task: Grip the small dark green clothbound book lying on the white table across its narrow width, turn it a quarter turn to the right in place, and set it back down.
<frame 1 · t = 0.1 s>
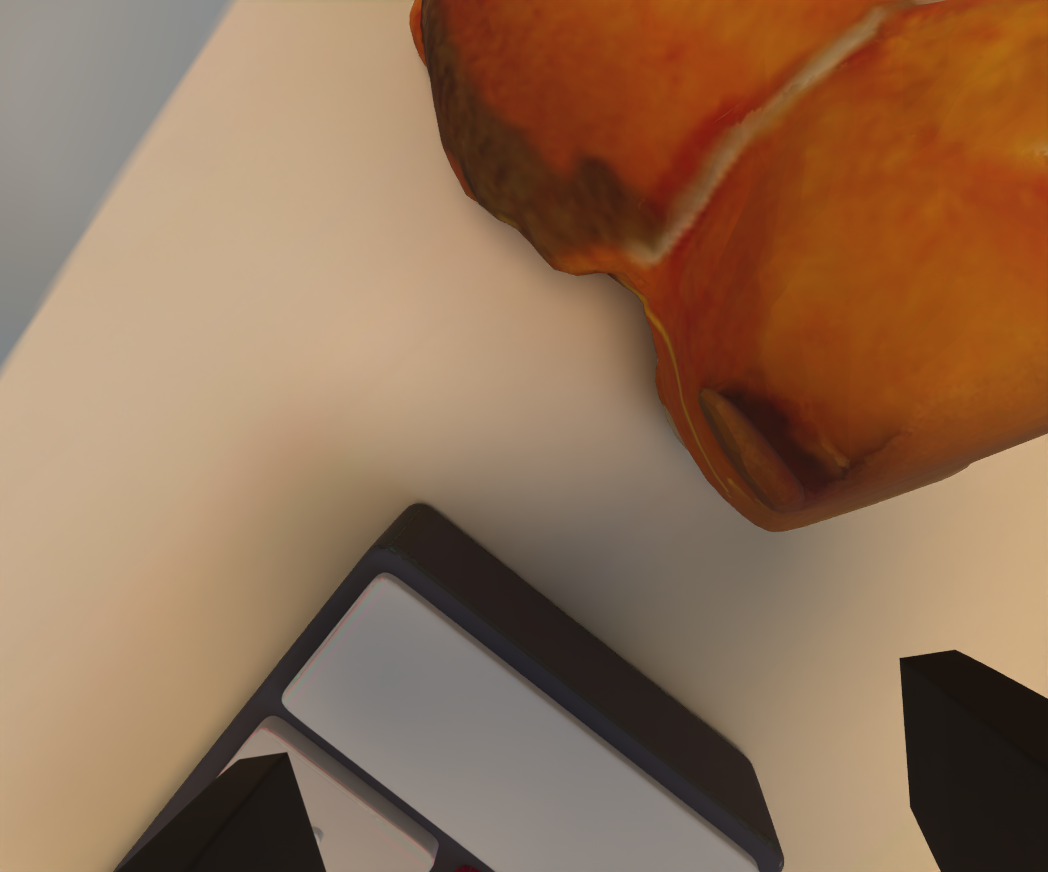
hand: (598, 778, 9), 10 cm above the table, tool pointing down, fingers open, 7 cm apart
toy 2: (870, 511, 13), point 6 cm above the table
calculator: (409, 837, 21), on the table
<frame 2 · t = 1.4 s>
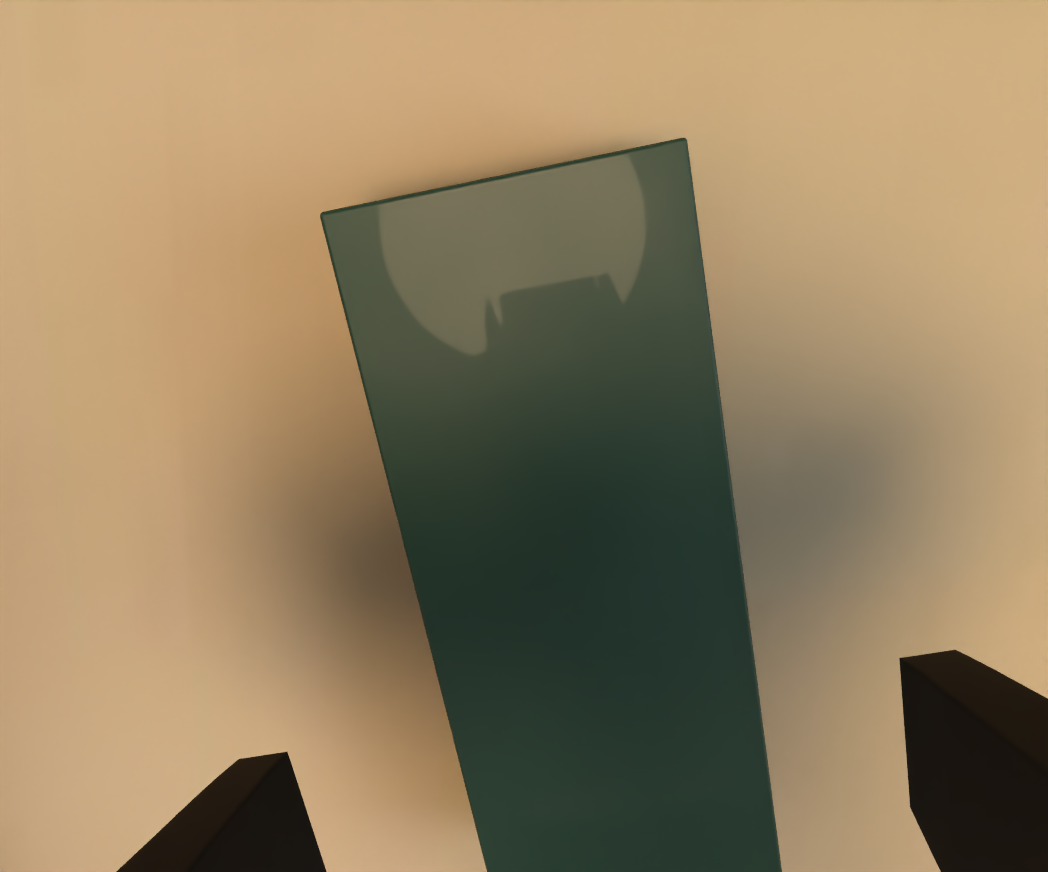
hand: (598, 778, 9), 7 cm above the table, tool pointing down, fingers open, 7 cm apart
book: (629, 817, 18), on the table
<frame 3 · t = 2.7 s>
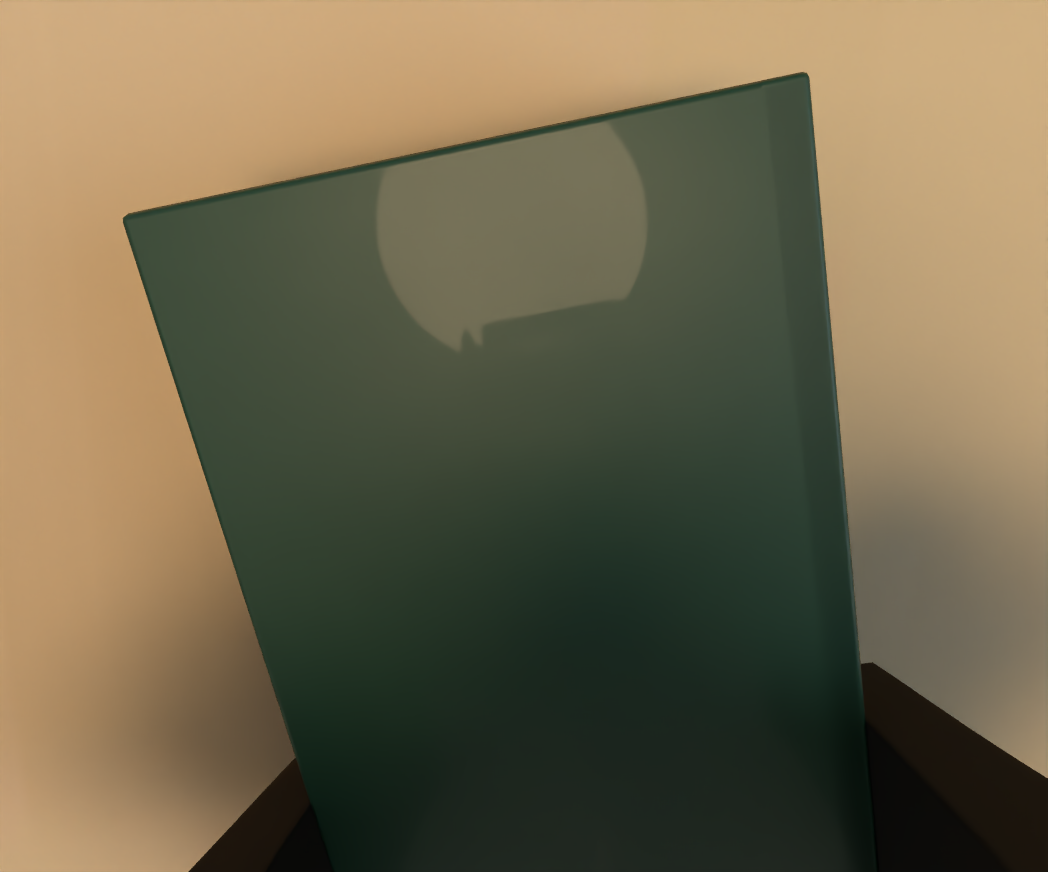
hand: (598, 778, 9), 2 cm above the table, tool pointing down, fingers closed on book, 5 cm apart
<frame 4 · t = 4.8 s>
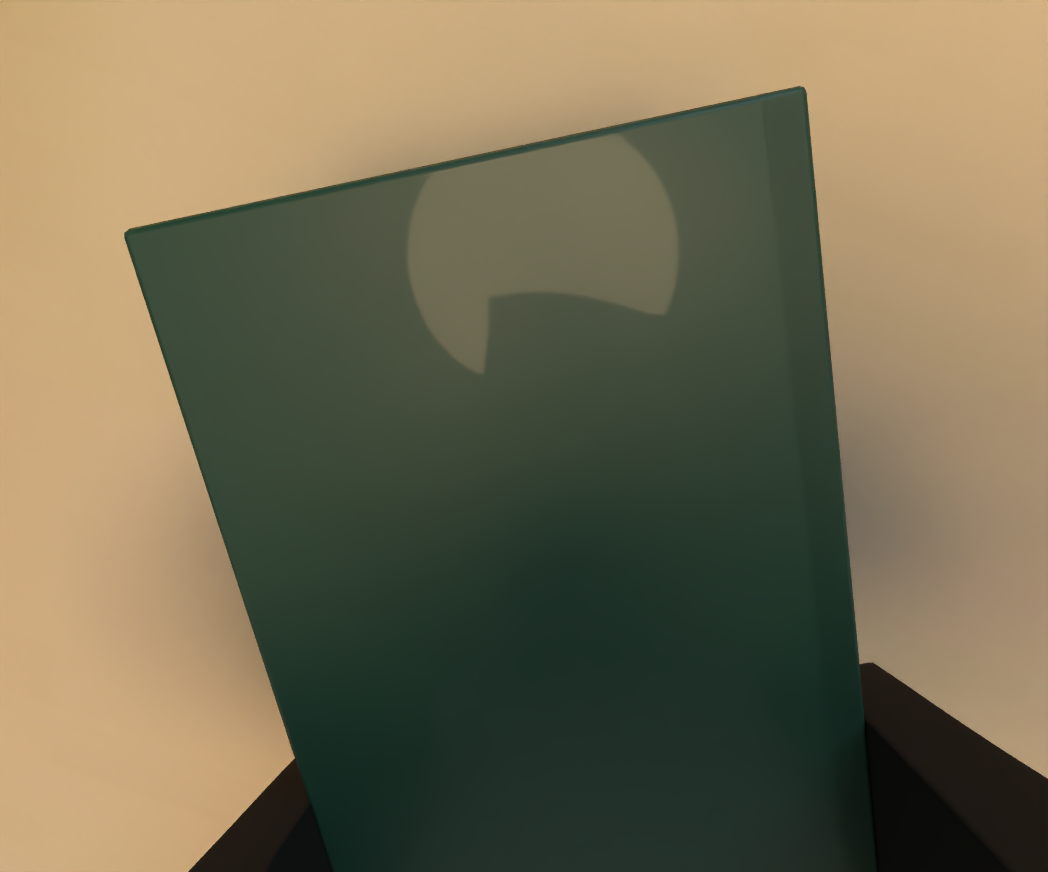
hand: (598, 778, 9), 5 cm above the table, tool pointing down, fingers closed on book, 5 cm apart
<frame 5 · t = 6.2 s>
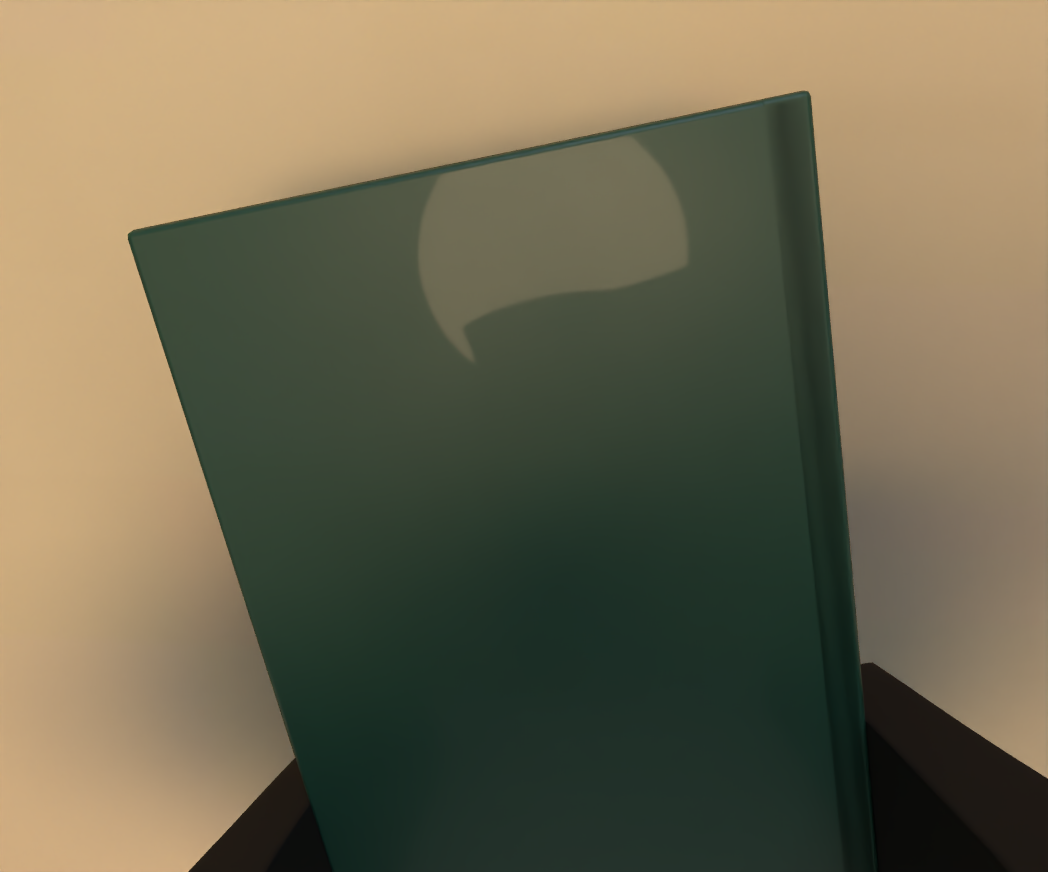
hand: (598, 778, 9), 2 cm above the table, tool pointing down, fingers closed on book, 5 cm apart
when the fingers open (2 cm above the table, at t = 6.9 s): book stays where it is, on the table.
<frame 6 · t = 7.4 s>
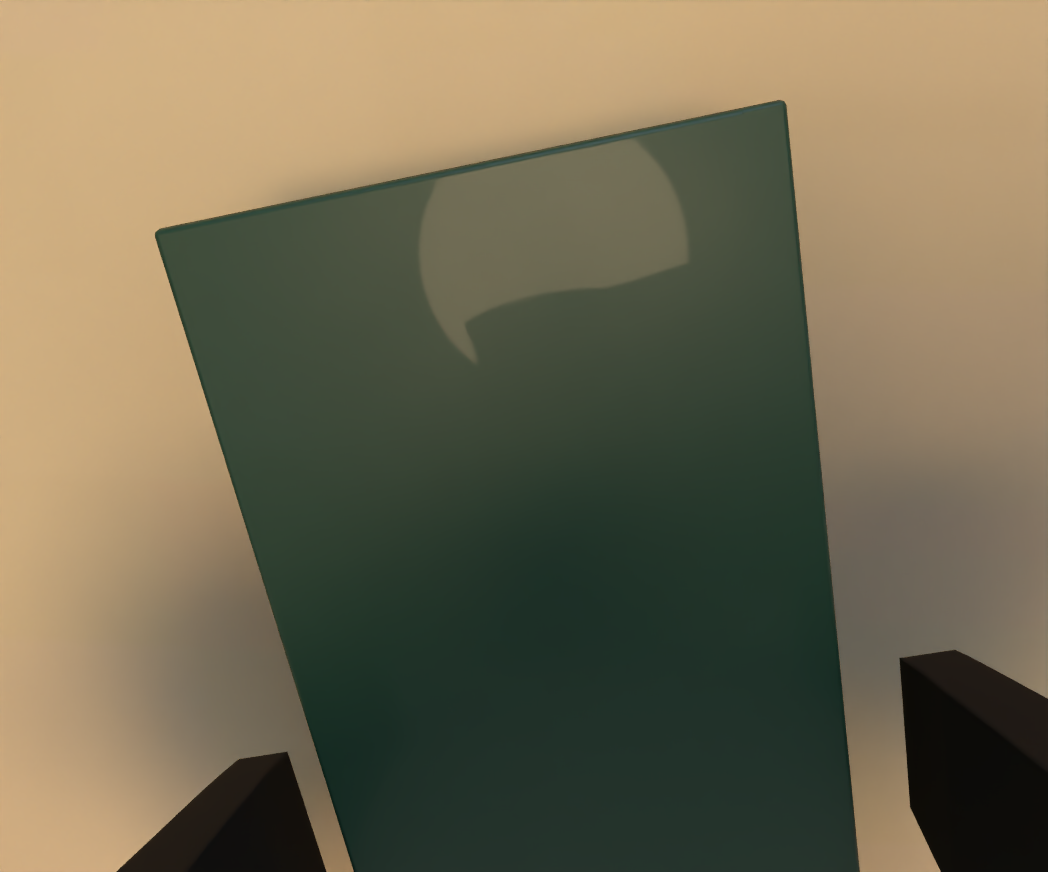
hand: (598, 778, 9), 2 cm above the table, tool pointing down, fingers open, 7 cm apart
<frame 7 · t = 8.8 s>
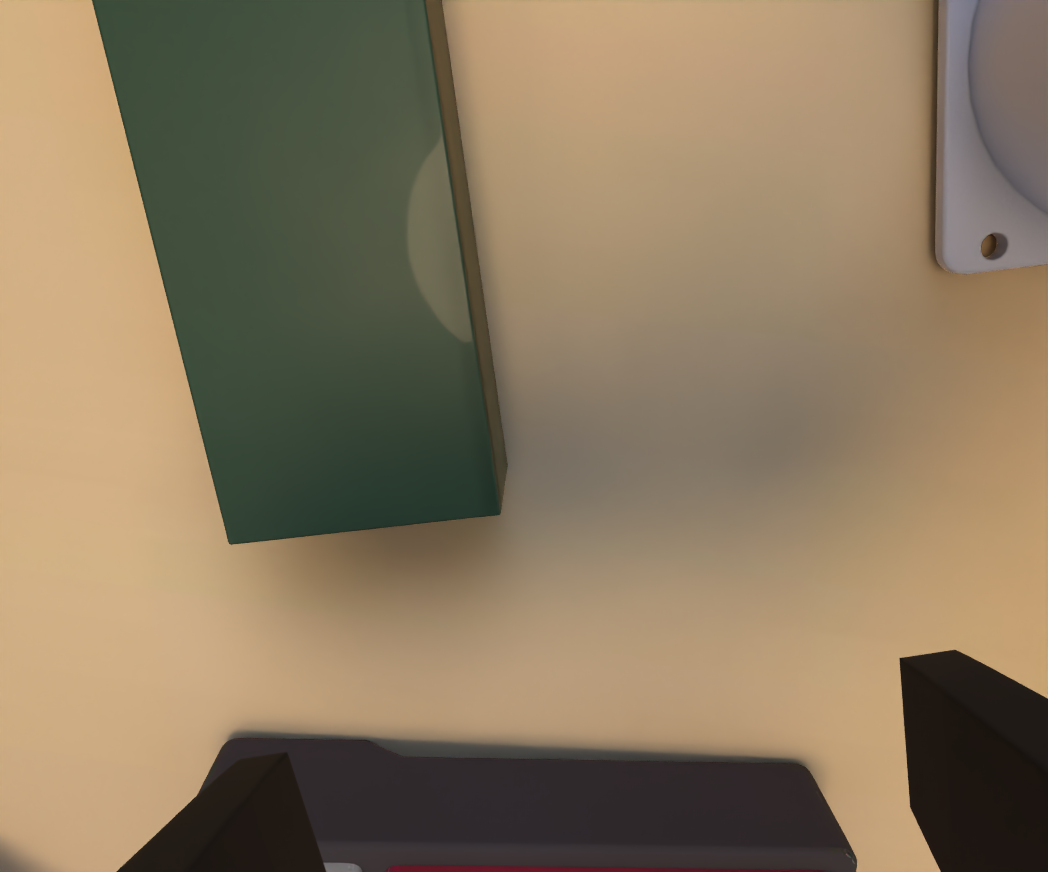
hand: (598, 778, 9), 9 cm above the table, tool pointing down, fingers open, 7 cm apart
book: (391, 479, 18), on the table
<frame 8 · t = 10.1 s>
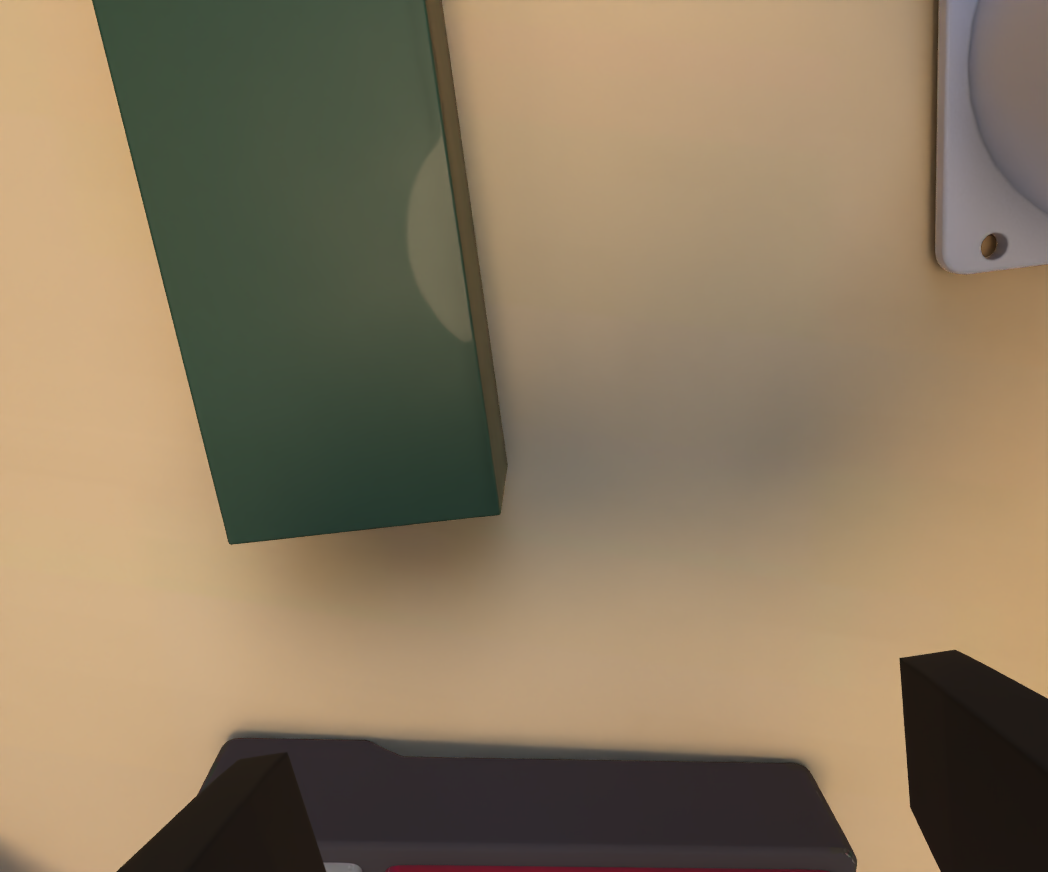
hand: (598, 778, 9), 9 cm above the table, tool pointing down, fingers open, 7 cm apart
book: (391, 479, 18), on the table
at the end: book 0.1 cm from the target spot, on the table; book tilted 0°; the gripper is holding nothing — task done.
